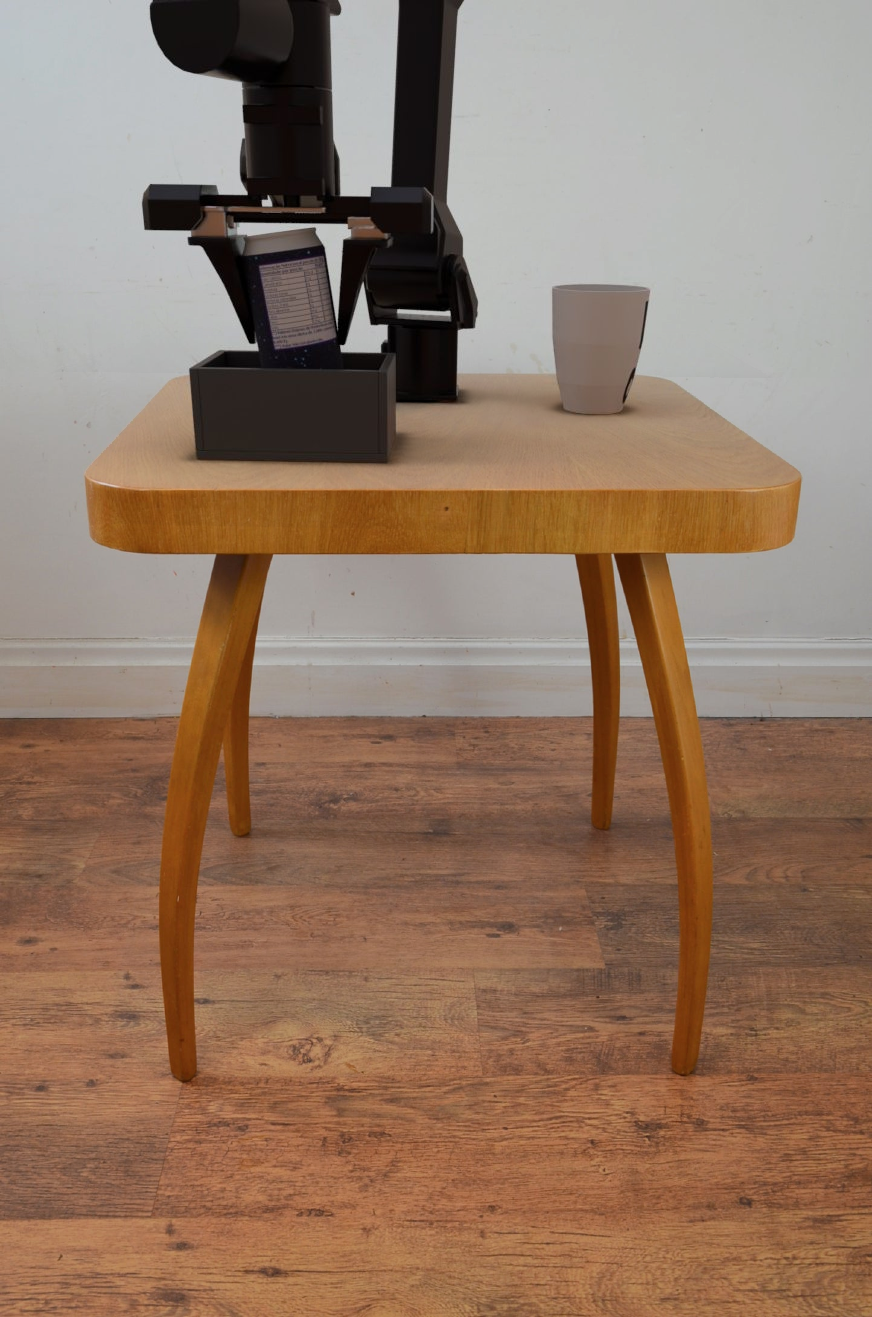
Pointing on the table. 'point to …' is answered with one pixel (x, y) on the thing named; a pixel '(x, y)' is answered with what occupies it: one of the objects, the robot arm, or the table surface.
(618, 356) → the cup
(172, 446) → the table surface
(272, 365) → the beverage can
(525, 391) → the table surface
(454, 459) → the table surface
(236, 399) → the open storage box
